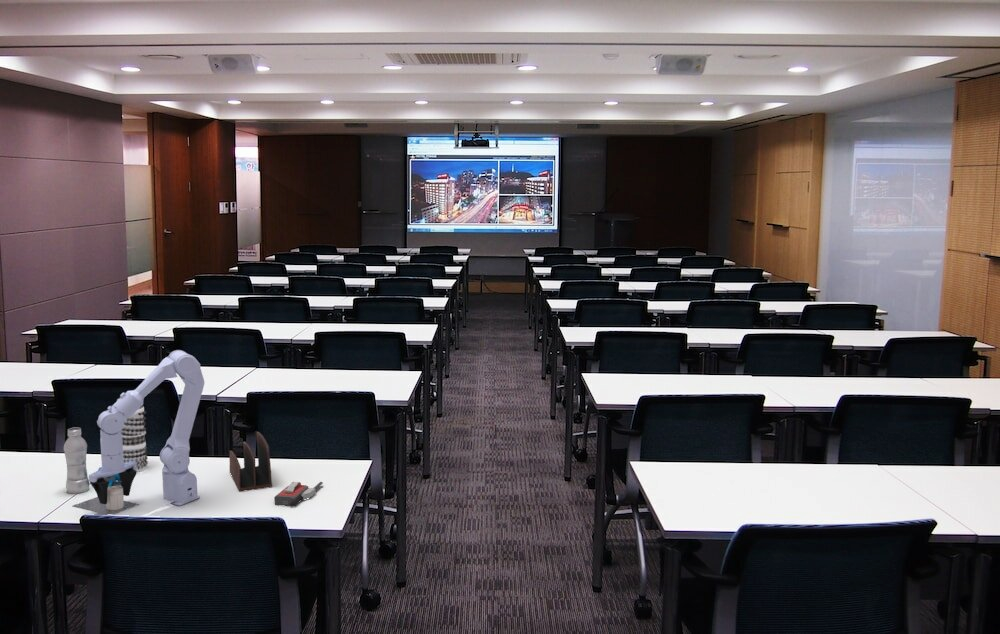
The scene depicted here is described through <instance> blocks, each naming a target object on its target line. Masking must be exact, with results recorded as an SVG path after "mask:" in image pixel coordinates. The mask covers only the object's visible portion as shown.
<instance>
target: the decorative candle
mask: <svg viewBox="0 0 1000 634" xmlns="http://www.w3.org/2000/svg"><path fill="white" fill-rule="evenodd" d="M120 398H121V396H120V395H119V398H117V399H116V402H117V401H118V400H119V399H120ZM146 414H147V411H146V410H145V407H144V404H143V405H142V406H141V407H140V408H139V409H138V410H137V411H136V412H135V413H134V414H133V415H132V416H131V417H130V418H129V419H128V418H127V417H126V418H127V419H128V420H127V421H125V422H124V427H123V429H122V430H121V433H122V442H123V459H124V463H126V462H130V461H134V462H136V467H137V468H136V469H133V470H136V471H137V473H138V471H139V472H142V471H141V470H143V471H145V470H147V469H148V468H149V466H148V464H149V463H148V462H149V461H148V459H149V458H148V456H147V454H148V451H147V450H148V447H147V446H146V445H147V442H146V437H145V435H146V434H147V428H146V427H145V425H147V422H146V420H147V417H146V416H144V415H146ZM147 467H148V468H147ZM146 468H147V469H146ZM144 469H145V470H144Z"/></svg>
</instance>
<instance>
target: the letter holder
mask: <svg viewBox="0 0 1000 634" xmlns="http://www.w3.org/2000/svg"><path fill="white" fill-rule="evenodd" d="M256 446H257V447H256V449H257V460H258V461H257V463H258V465H257V466H256V456H255V454H254V452H253V450H252V447H251V446H250V445H249V444H248V443H247V441H243V443H242V449H243V450H242V451H243V467H241V464H240V462H239V460H238V457H237V456H236V454H235V452H234V451H233V450H229V474H230V473H231V474H230V476H231V475H232V476H231V478H232V477H233V478H232V481H233V482H234V484H235V486H236V488H237V490H238V491H239V492H245V491H244V490H247V491H253V490H252V489H254V490H259V489H258V488H262V489H265V488H264V487H269V488H271V487H270V486H272V487H273V482H272V468H271V457H270V456H271V455H270V446H269V444H268V442H267V440H266V439H265V437H264V435H263V434H261V432H259V431H256Z"/></svg>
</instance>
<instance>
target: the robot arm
mask: <svg viewBox="0 0 1000 634" xmlns="http://www.w3.org/2000/svg"><path fill="white" fill-rule="evenodd" d="M178 376H179V377H180V379H181V380H182V382H183V384H184V386H183V391H182V395H181V398H180V401H179V405H178V410H177V414H176V417H175V421H174V424H173V427H172V430H171V431H172V432H171V435H170V436H169V437H168V439H167V440H166V443H165V446H164V447H163V448H162V449H161V450H160V453H159V459H160V460H159V461H160V462H161V463H162V464H163V468H162V469H161V471H162V472H161V475H162V493H163V495H162V496H163V499H164V500H167V501H172V502H170V504H171V505H175V506H182V505H186V504H188V503H190V502H192V501H194V500H197V499H200V498H201V497H200V495H198V480H197V476H196V475H195V474H194V473H193V472H191V471H190V470H189V466H190V450H191V447H190V446H191V445H190V438H191V434H192V430H193V427H194V423H195V419H196V416H197V412H198V408H199V405H200V401H201V398H202V393H203V391H204V386H205V379H204V375H203V372H202V369H201V363H200V362H199V361H198V360H197V359H196V357H195V356H194V355H191V354H189V353H187V352H186V351H184V350H181V349H176V350H173V351H171V352H170V353H169V355H168V356H166V357H165V358H163V359H162V360H161V361H160V363H159V364H158V365H157V366H156V367H155V368H154V369H153V370H152V371H151V372H150V374H149V375H148V376H147V377H145V379H143V381H142V382H141V383H140V384H139V385H138V386H137V387H136V388H135V389H133V390H127V391H126V392H122V393H121V394H120V395H119V398H120V396H121V398H120V399H119V398H118V399H119V400H118V401H117V400H116V402H114V404H112V405H109V406H108V407H107V409H106V410H104V411H102V412H101V413H100V414H99V415H98V419H97V420H96V423H97V426H98V428H100V429H99V432H100V433H99V434H100V439H99V442H100V457H101V459H100V460H101V466H100V467H101V469H100V470H99V469H97V471H95V472H93V473H90V474H88V479H89V483H90V484H89V485H91V486H92V488H93V489H94V492H95V493H96V495H97V496H96V497H98V498H99V501H100V503H101V504H107V490H108V485H109V482H108V481H105V480H104V478H106V477H109V476H112V475H115V474H119V477H120V481H121V482H120V486H121V487H123V493H124V496H125V497H129V496H130V492H131V488H132V485H133V481H134V480H135V477H136V476H137V474H138V472H137V471H136V470H133V469H136V468H137V467H136V462H134V461H130V462H126V463H124V459H123V442H122V433H121V430H122V429H123V427H124V422H125V421H127V420H128V419H129V418H130V417H131V416H132V415H133V414H134V413H135V412H136V411H137V410H138V409H139V408H140V407H141V406H142V405H143V406H144V399H145V397H147V396H148V394H150V393H151V392H152V391H154V390H155V389H156V388H158V386H159V385H160V384H161V383H162V382H164V381H165V380H166V379H168V380H169V379H172V378H173V379H174V378H178ZM126 417H127V418H128V419H127V418H126Z"/></svg>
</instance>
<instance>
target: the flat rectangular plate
mask: <svg viewBox="0 0 1000 634" xmlns="http://www.w3.org/2000/svg"><path fill="white" fill-rule="evenodd" d="M139 505H140V503H135V502H132V501H127V500H124V507H123V508H121V509H118V510H108V509H106V504H101V503H100V501H99V498H98V496H95V497H92V498H90V499H87V500H85V501H82V502H79V503H76V504H74V505H71V507H72V508H78V509H81V510H84V511H85V510H86V511H89V512H95V513H98V514H103V515H106V514H113V515H115V514H118V513H121V512H123V511H125V510H129V509H131V508H135V507H136V506H139Z"/></svg>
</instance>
